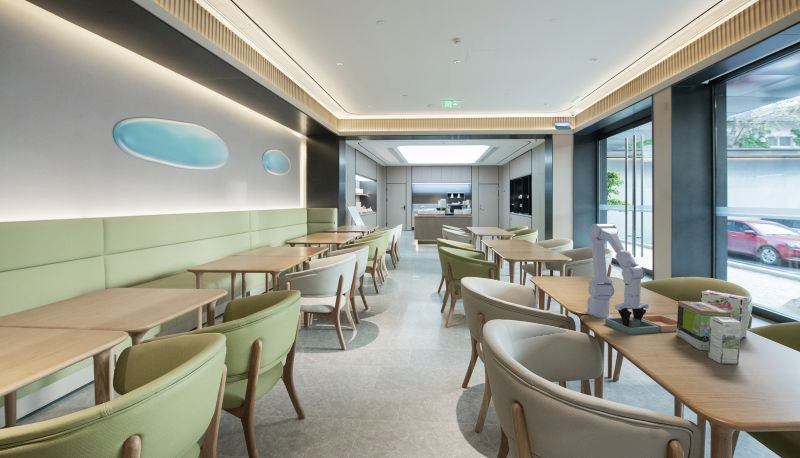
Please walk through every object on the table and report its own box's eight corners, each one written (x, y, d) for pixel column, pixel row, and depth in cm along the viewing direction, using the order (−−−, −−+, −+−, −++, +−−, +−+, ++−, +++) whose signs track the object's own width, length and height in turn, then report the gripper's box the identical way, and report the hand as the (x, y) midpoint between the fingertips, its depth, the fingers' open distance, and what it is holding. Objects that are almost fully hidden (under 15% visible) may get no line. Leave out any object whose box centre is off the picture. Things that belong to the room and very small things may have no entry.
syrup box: (725, 357, 124) (727, 316, 123) (739, 365, 118) (741, 321, 118) (707, 356, 125) (709, 315, 124) (720, 364, 119) (722, 321, 118)
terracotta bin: (634, 323, 161) (634, 316, 161) (660, 321, 164) (660, 314, 164) (661, 333, 148) (661, 326, 148) (689, 331, 150) (689, 324, 150)
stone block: (622, 326, 155) (622, 317, 155) (630, 325, 156) (630, 316, 156) (631, 330, 150) (632, 320, 150) (639, 329, 151) (640, 320, 151)
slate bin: (605, 325, 159) (605, 318, 158) (631, 323, 161) (632, 316, 161) (630, 335, 145) (630, 328, 145) (658, 333, 148) (659, 326, 148)
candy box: (698, 329, 153) (700, 290, 152) (705, 327, 156) (707, 289, 155) (739, 339, 141) (741, 298, 140) (747, 337, 143) (749, 296, 142)
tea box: (730, 352, 128) (732, 312, 128) (698, 350, 130) (700, 310, 130) (703, 337, 143) (705, 301, 142) (675, 336, 145) (676, 299, 144)
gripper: (624, 297, 147) (623, 329, 148) (655, 295, 150) (653, 327, 150) (611, 293, 154) (610, 324, 155) (640, 291, 157) (639, 322, 157)
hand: (631, 325), depth 153 cm, fingers open, 5 cm apart
